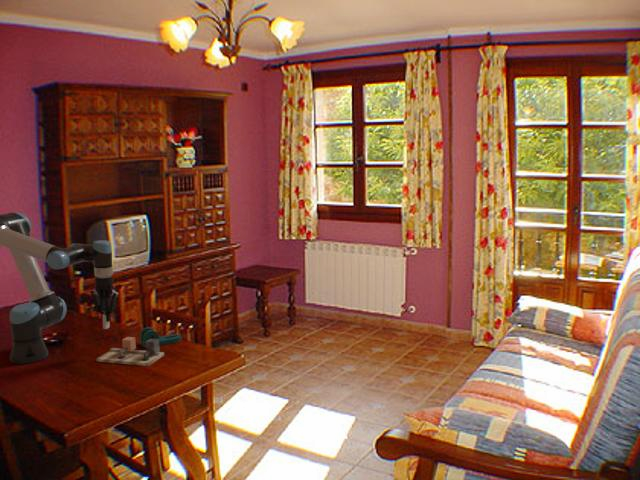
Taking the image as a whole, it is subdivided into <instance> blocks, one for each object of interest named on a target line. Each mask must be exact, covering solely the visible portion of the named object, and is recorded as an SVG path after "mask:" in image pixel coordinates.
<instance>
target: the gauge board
mask: <svg viewBox="0 0 640 480" xmlns="http://www.w3.org/2000/svg"><path fill="white" fill-rule="evenodd" d="M122 349H123V348H117V347H116V348H115V347H111V348H110V349H109V351H107V352H106V353H104V354H102V355H100V356H98V357H97V358H96V362H99V363H110V364H111V363H112V364H120V365H122V364H123V365H132V366H133V365H134V366H144V367H149V366H151V365H152V364H154V363H155V362H157V361H158V360H160V359H161V358H162V357H164V356H165V352H164V351H162V352H161V351H160V346H159V339H149V340H148V341H146V349H145V350H140V349H134V350H132V351H124V352H123V353H122V357H120V352H119V351H121V350H122Z"/></svg>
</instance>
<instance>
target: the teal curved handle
mask: <svg viewBox="0 0 640 480" xmlns="http://www.w3.org/2000/svg"><path fill="white" fill-rule="evenodd" d="M139 337H140V345H141V346H142V347H143V349H145V348H146V341H148V340H149V339H159V347H160V346H166V345H172V344H176V343H180V342H182V335H181V334H179V333H173V334H171V333H170V334H167V335H161V336H160V334H159V333H158V332H157V331H156V330H155V329H154V328H152V327H150V326H148V327H144V328H143V329H141V331H140V334H139Z"/></svg>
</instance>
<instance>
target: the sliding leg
mask: <svg viewBox="0 0 640 480" xmlns="http://www.w3.org/2000/svg"><path fill="white" fill-rule="evenodd" d="M121 343H122V348H121V349H122V350H121V351H119V352H120V357H122V353H123V352H124V351H132V350H137V346H136V345H137V344H136V337H135V336H134V337H132V336H126V337H124V338H123V339H121Z"/></svg>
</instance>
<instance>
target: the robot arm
mask: <svg viewBox="0 0 640 480" xmlns="http://www.w3.org/2000/svg"><path fill="white" fill-rule="evenodd" d="M31 232H32V223H31V221H30V219H29V217H27V216H26V215H25V214H23V213H21V212H6V213H2V214H0V247H4V248H7V249H9V252H10V254H11V256H12V259H13V261H14V263H15V266H16V269H17V270H18V272H19V276H20V277H21V279H22V282H23V284H24V286H25V289H26V291H27V293H28V295H29V299H28V302H25V303H21V304H18V305H15V306H14V307H12V308H11V309H10V311H9V322H10V331H11V339H12V345H11V350H10V354H9V361H10V363H12V364H16V365H17V364H18V365H19V364H20V365H22V364H32V363H36V362H39V361H42V360H45V359H46V358H47V357H48V356H49V349H48V348H47V346H46V343H45V341H44V339H43V335H42V333H43V332H42V330H43V329H46V328H48V327H50V326H52V325H56V324H58V323H59V322H61V321H63V320H64V319H65V317H66V314H67V311H68V310H67V308H68V307H67V304H66V302H65V300H64V299H63V298H61V297H60V296H57V294H56V293H55V291H52V290H51V289H50V287H49V286H48V283H47V281H46V278H45V276H44V273H43V271H42V270H41V267H40V264H39V262H38V261H37V260H40V261H42V262H45V263H47V265H48V266H49V268H51V269H52V270H61V269H65V268H67V267H71V266H74V265H77V264H80V263H83V262H88V263H93V271H94V276H95V277H94V286H95V287H94V289H93V290H91V291H90V294H91V296H92V299H93V303H94V305H95V310H96V313H99V314H100V320H101V321H102V329H103V330H107V329H109V328H110V321H111V318H112V317H111V314H112V313H115V310H116V305H117V300H118V297H119V295H120V292H118V291H116V290H115V288H114V276H113V275H114V272H113V271H114V270H113V267H114V266H113V249H112V243H111V241H109V240H105V239H104V240H103V239H102V240H99V239H98V240H95V241H93V242H92V244H88V243H87V244H85V243H81V242H80V243H71V244H70V245H69V246H68V247H67V248H61V247H59V246H56V245H53V244H51V243H49V242H45V241H42V240H41V239H40V240H39V239H36V238H34V237H32V236H31V235H30V234H31Z"/></svg>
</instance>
